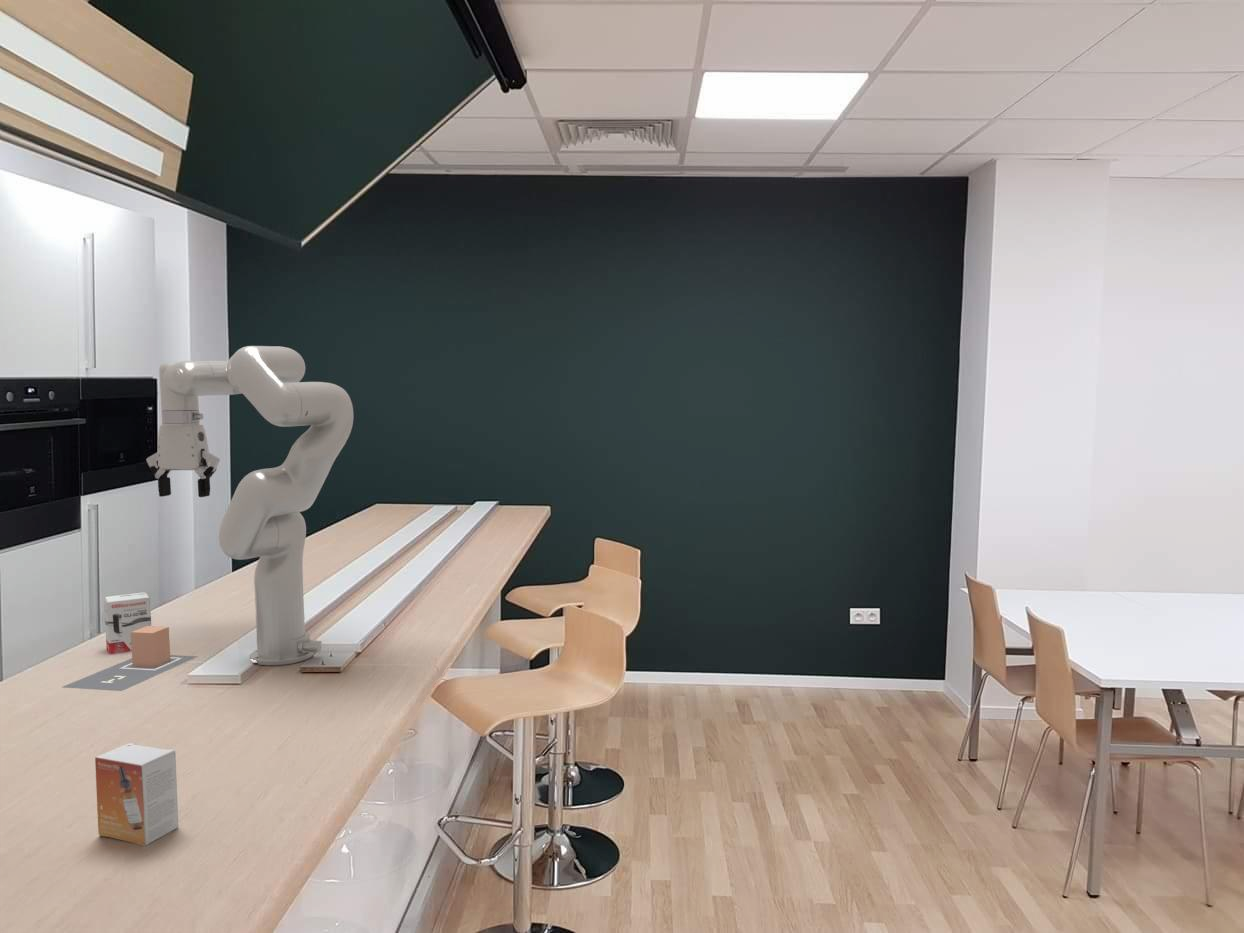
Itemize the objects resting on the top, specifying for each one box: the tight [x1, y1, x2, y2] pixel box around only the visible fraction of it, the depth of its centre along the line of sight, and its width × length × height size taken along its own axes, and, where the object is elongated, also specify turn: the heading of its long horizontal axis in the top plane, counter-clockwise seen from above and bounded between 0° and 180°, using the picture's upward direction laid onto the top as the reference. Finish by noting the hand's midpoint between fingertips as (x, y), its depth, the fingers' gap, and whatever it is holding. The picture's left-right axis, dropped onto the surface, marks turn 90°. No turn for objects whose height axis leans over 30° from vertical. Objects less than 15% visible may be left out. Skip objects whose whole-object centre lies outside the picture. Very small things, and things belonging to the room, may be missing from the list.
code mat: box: [62, 654, 198, 692], centre depth 197 cm, size 13×23×1 cm, turn 168°
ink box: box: [103, 591, 152, 655], centre depth 213 cm, size 8×5×12 cm, turn 123°
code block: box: [131, 625, 171, 667], centre depth 202 cm, size 5×5×7 cm
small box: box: [94, 742, 179, 847], centre depth 127 cm, size 8×6×10 cm
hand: (184, 496), depth 219 cm, fingers open, 9 cm apart
